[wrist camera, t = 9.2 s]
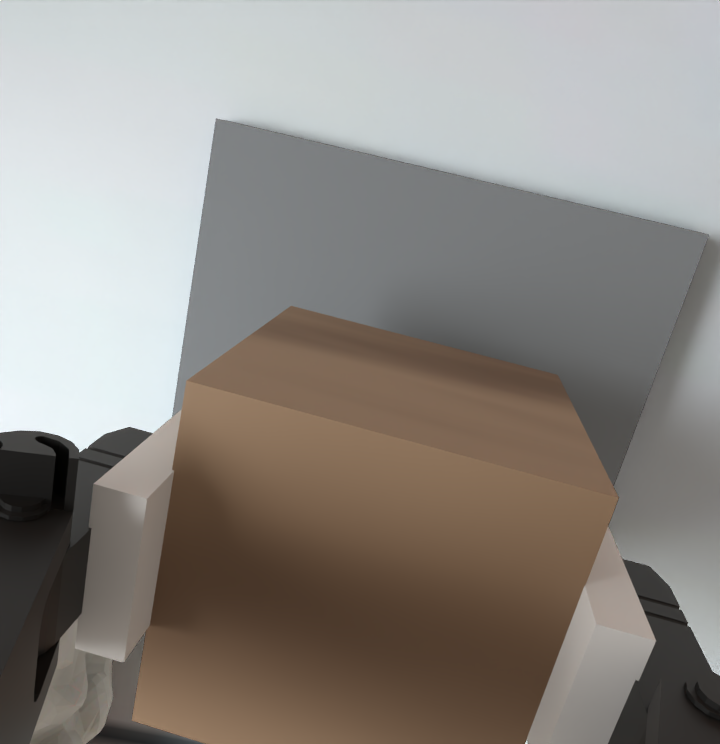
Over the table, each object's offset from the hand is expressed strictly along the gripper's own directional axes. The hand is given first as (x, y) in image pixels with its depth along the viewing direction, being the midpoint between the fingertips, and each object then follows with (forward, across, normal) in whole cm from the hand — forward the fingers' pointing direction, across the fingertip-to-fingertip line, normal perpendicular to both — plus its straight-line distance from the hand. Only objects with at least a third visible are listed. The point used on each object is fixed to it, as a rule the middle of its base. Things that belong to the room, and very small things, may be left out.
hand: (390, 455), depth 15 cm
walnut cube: (0, 0, 0) cm, 0 cm away
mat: (+4, 0, 0) cm, 4 cm away
